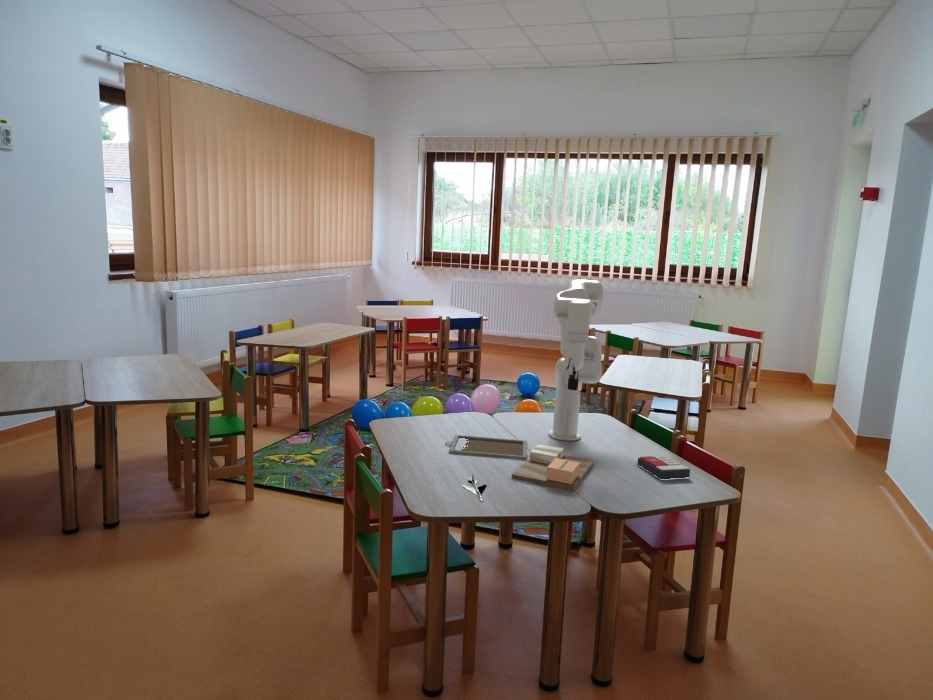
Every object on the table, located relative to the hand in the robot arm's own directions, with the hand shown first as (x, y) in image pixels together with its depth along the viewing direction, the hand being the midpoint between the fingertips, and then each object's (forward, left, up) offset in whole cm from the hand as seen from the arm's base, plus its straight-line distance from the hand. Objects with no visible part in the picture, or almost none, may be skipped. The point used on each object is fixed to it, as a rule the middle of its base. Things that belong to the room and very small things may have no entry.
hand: (572, 389), depth 218 cm
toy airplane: (+42, -17, -26) cm, 52 cm away
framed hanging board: (+5, -29, -26) cm, 39 cm away
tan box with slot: (+23, +5, -23) cm, 33 cm away
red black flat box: (-5, +32, -26) cm, 41 cm away
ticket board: (+14, 0, -25) cm, 29 cm away
